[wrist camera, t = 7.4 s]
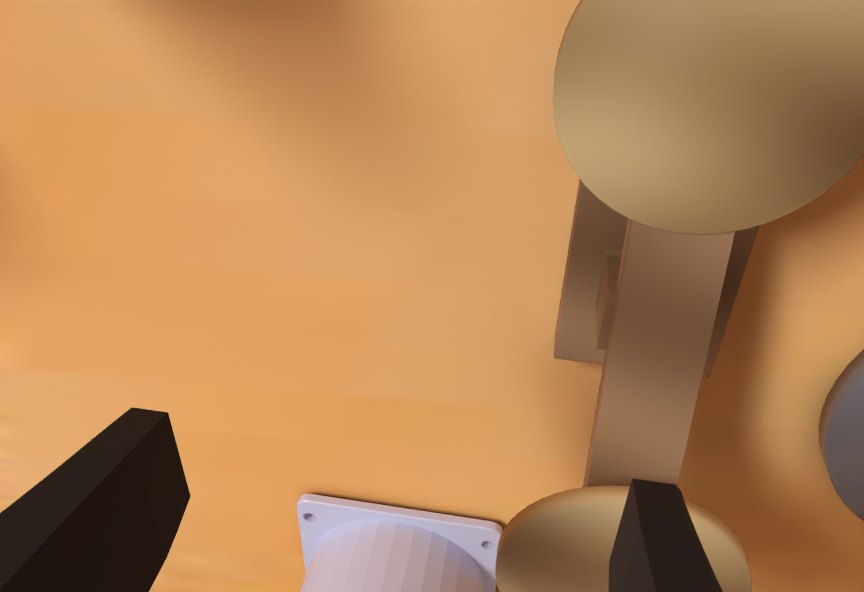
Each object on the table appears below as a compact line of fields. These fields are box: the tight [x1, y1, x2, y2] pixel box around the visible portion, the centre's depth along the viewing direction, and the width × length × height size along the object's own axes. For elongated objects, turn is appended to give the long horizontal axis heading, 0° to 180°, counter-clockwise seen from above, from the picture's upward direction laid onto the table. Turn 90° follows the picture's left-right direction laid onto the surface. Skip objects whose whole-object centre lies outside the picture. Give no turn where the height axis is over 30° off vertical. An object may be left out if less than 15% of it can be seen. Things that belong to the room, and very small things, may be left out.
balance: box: [495, 0, 864, 592], centre depth 18 cm, size 18×6×6 cm, turn 179°
